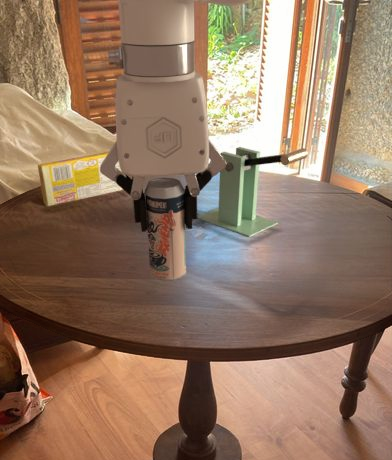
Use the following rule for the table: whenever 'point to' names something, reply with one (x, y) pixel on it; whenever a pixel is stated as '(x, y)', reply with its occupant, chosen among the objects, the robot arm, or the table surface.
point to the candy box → (75, 179)
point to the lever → (275, 158)
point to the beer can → (166, 228)
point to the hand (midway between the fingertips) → (166, 224)
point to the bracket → (238, 196)
